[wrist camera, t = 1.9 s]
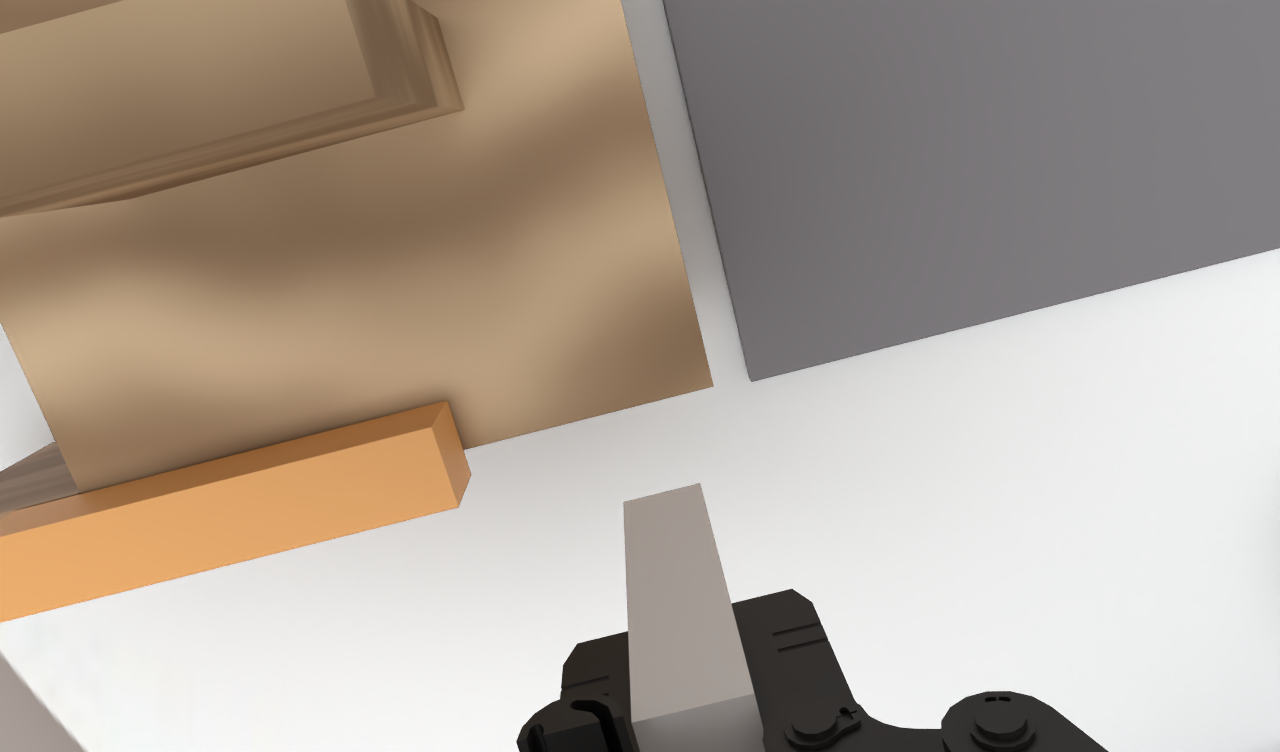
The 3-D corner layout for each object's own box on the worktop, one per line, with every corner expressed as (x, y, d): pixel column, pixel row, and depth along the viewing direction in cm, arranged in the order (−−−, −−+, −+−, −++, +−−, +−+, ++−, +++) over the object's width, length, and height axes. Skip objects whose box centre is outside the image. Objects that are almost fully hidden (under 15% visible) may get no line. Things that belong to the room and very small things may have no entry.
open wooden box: (-98, 124, 33) (-367, 121, 24) (566, -57, 33) (549, -130, 23) (75, 496, 38) (-97, 615, 28) (667, 345, 37) (688, 417, 28)
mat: (617, -198, 31) (617, -205, 31) (1286, -383, 31) (1299, -393, 30) (749, 378, 37) (751, 382, 37) (1313, 235, 37) (1325, 236, 36)
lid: (-72, 28, 26) (-647, -59, 14) (579, -152, 26) (555, -401, 14) (141, 509, 31) (-161, 755, 18) (705, 365, 30) (771, 524, 18)
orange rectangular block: (12, 511, 27) (-45, 548, 25) (446, 400, 27) (431, 427, 25) (46, 582, 28) (-6, 624, 26) (471, 474, 28) (458, 507, 25)
